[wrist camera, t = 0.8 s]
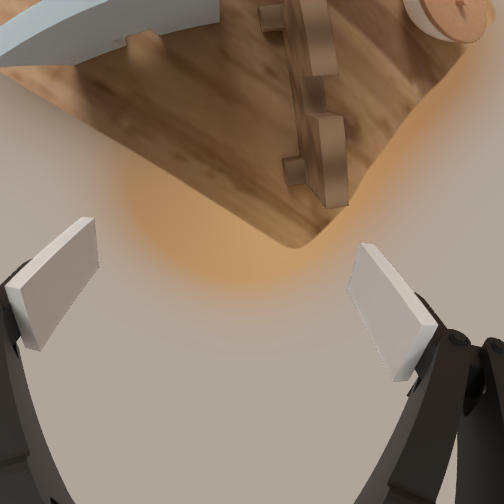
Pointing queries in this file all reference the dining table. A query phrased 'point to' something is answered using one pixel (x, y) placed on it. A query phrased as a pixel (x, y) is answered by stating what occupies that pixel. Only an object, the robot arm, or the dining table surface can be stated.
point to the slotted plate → (93, 27)
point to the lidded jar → (449, 18)
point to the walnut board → (311, 98)
